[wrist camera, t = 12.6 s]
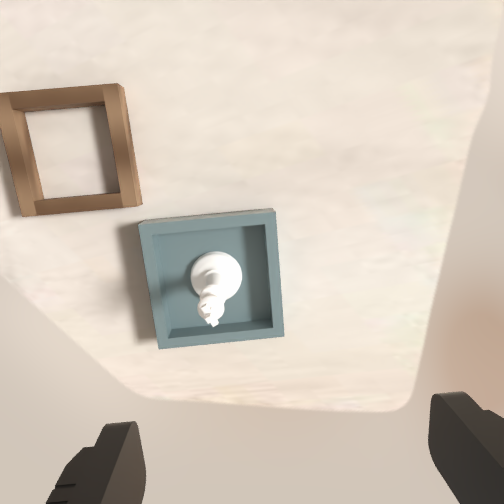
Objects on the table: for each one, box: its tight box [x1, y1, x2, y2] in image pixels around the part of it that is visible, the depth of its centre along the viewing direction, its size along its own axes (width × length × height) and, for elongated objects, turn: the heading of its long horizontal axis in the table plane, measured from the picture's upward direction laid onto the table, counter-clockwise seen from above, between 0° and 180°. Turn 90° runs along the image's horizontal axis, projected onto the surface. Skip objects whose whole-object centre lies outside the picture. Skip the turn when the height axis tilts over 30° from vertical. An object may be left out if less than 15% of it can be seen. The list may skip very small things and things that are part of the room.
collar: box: [0, 83, 143, 217], centre depth 31 cm, size 10×10×2 cm
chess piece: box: [191, 251, 242, 327], centre depth 30 cm, size 5×5×10 cm
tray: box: [138, 208, 284, 349], centre depth 34 cm, size 12×12×3 cm
